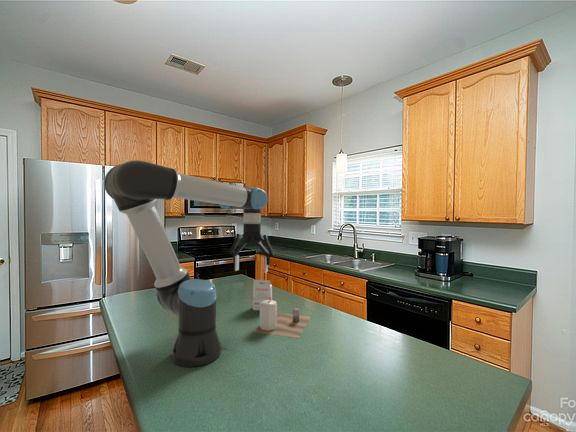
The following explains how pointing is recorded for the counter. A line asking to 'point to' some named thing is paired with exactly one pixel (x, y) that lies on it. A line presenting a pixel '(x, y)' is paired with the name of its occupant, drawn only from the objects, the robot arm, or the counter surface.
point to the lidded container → (268, 315)
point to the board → (288, 325)
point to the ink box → (261, 292)
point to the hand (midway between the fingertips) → (251, 271)
